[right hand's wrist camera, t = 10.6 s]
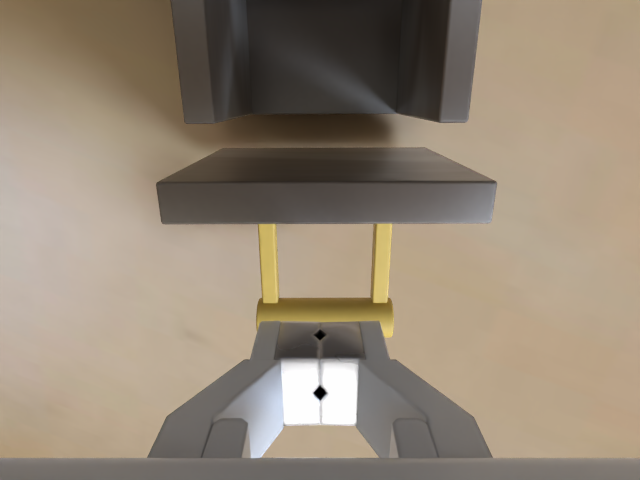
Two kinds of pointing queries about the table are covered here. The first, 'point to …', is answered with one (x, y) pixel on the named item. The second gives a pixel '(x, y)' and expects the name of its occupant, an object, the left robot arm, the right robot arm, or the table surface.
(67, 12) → the table surface
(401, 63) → the drawer
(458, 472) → the right robot arm
